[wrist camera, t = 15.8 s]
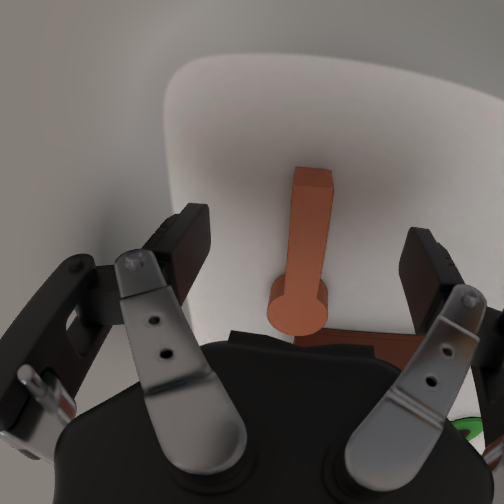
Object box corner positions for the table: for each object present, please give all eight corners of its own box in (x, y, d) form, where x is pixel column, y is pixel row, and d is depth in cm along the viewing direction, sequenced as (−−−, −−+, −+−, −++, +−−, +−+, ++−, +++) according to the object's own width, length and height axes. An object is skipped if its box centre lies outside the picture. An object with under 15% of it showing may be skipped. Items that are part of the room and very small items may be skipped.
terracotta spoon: (277, 164, 15) (271, 181, 13) (349, 172, 14) (355, 190, 13) (269, 310, 21) (264, 337, 19) (322, 316, 20) (322, 343, 18)
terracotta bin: (296, 325, 21) (287, 394, 16) (440, 335, 19) (455, 397, 15) (280, 413, 29) (272, 460, 24) (382, 419, 27) (383, 465, 23)
